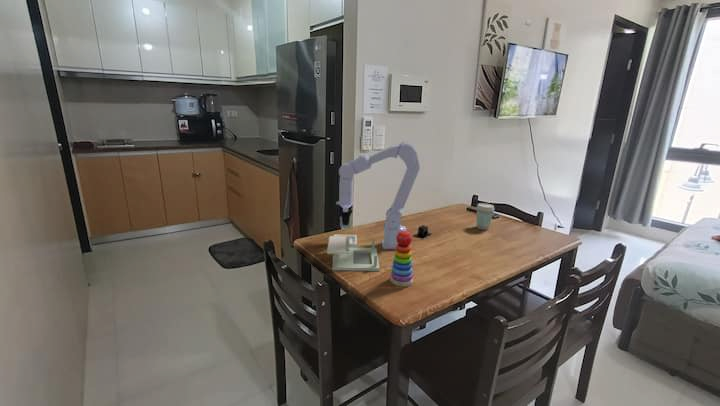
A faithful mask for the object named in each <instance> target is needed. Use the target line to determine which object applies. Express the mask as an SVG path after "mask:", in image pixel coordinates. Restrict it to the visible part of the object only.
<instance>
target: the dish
mask: <svg viewBox="0 0 720 406" xmlns="http://www.w3.org/2000/svg"><path fill="white" fill-rule="evenodd" d="M333 236H350V241H349V247H357V248H358V238H357V237H358V235H357V234H333Z"/></svg>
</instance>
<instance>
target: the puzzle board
mask: <svg viewBox="0 0 720 406" xmlns="http://www.w3.org/2000/svg"><path fill="white" fill-rule="evenodd" d="M375 241H376V240H375V238H372V239H371V247H358V246H357V247H349V254H332V268H331V269H332V271H358V272H360V271H361V272H363V271H364V272H380V269H381V267H380V262H379V257H378V250H377V249H378V248H377V247H375Z"/></svg>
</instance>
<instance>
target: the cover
mask: <svg viewBox="0 0 720 406" xmlns="http://www.w3.org/2000/svg"><path fill="white" fill-rule="evenodd" d="M349 241H350V236H334V235H329V238H328V244H327V249H326V254H329V255H330V254H331V255H333V254H349Z"/></svg>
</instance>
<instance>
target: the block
mask: <svg viewBox="0 0 720 406" xmlns="http://www.w3.org/2000/svg"><path fill="white" fill-rule="evenodd" d="M339 219H340V220H339V221H340V222H339V225H340V228H341V229H342V228H348V229H350V227H351V226H350V225H351V217H350V218H349V223H348V225H343V223H342V217H341V216H340V217H339Z"/></svg>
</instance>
